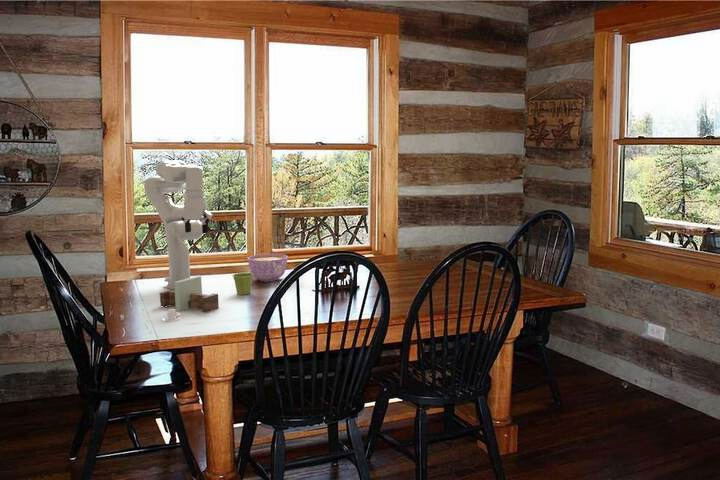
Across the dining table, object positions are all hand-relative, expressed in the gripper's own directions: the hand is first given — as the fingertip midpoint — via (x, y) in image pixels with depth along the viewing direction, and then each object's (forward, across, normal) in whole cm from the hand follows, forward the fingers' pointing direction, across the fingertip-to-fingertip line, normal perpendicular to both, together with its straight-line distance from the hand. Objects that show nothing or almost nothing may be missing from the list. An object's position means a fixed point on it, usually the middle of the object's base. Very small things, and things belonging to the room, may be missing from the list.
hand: (196, 232), depth 309 cm
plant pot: (+28, +17, +10) cm, 35 cm away
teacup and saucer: (+29, +21, -37) cm, 51 cm away
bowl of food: (+28, +10, +40) cm, 50 cm away
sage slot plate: (+28, +12, -21) cm, 37 cm away
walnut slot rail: (+28, +12, -21) cm, 37 cm away
